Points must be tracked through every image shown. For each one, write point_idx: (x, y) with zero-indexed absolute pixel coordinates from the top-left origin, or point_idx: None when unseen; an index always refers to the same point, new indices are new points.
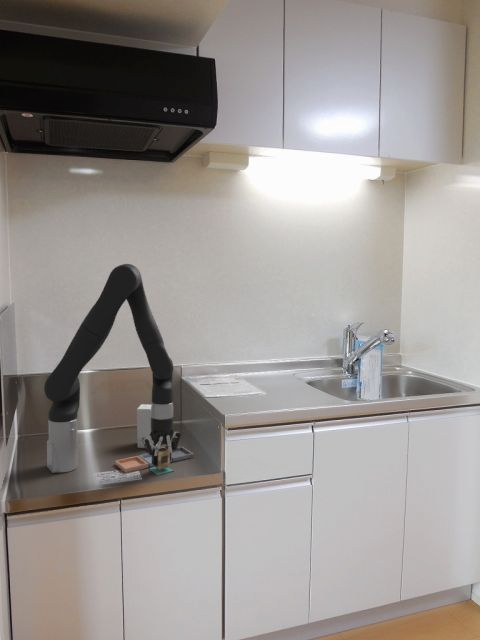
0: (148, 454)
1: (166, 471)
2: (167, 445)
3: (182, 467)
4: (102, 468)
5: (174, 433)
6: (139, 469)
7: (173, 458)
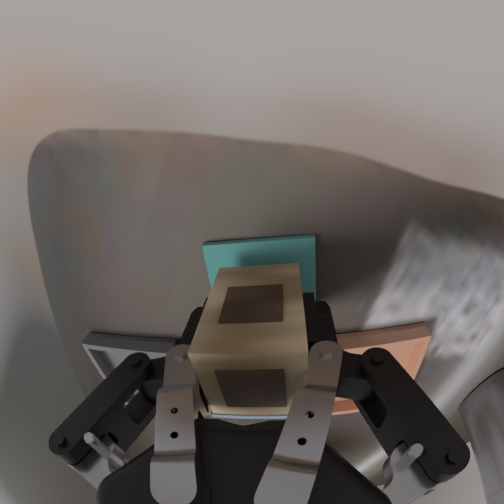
0: (262, 415)
1: (246, 250)
2: (196, 403)
3: (143, 270)
4: (443, 375)
5: (97, 476)
6: (360, 333)
7: (167, 351)
